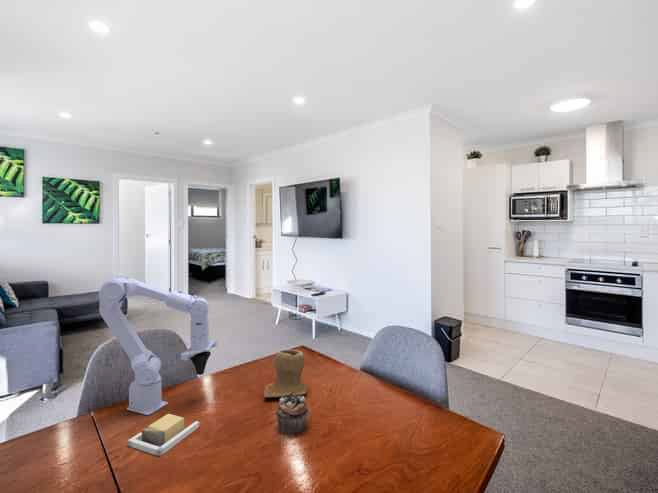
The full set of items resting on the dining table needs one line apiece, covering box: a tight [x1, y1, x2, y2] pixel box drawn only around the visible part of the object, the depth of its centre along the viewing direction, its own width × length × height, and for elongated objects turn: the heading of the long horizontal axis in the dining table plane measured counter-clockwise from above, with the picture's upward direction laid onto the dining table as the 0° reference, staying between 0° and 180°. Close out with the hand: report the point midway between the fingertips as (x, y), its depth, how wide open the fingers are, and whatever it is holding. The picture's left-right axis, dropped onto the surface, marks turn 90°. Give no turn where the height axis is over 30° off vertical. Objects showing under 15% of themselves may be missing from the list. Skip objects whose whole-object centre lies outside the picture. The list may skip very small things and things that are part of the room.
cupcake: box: [275, 392, 309, 436], centre depth 102 cm, size 10×10×10 cm
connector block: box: [141, 413, 185, 447], centre depth 96 cm, size 6×9×4 cm
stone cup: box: [263, 349, 308, 399], centre depth 123 cm, size 15×12×15 cm
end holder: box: [127, 420, 200, 457], centre depth 97 cm, size 11×14×2 cm
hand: (200, 373), depth 116 cm, fingers closed
